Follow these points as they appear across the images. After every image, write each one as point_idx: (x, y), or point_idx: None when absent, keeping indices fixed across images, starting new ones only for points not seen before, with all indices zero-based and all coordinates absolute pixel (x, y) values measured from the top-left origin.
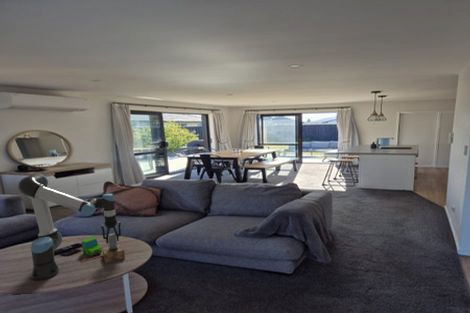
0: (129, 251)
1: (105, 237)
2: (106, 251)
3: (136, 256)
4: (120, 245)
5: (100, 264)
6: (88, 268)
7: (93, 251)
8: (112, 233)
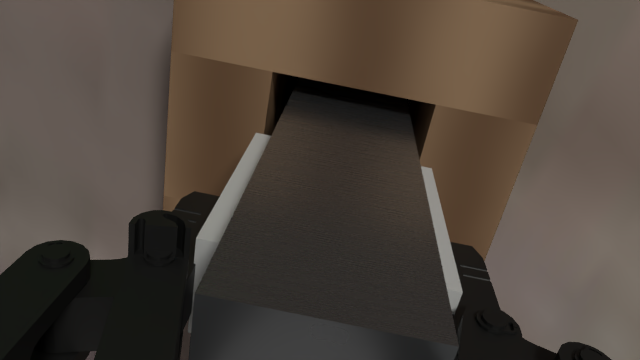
0: (610, 92)
1: (93, 348)
2: (211, 175)
3: (568, 310)
4: (519, 96)
5: (144, 201)
6: (8, 200)
7: None
8: (356, 348)
